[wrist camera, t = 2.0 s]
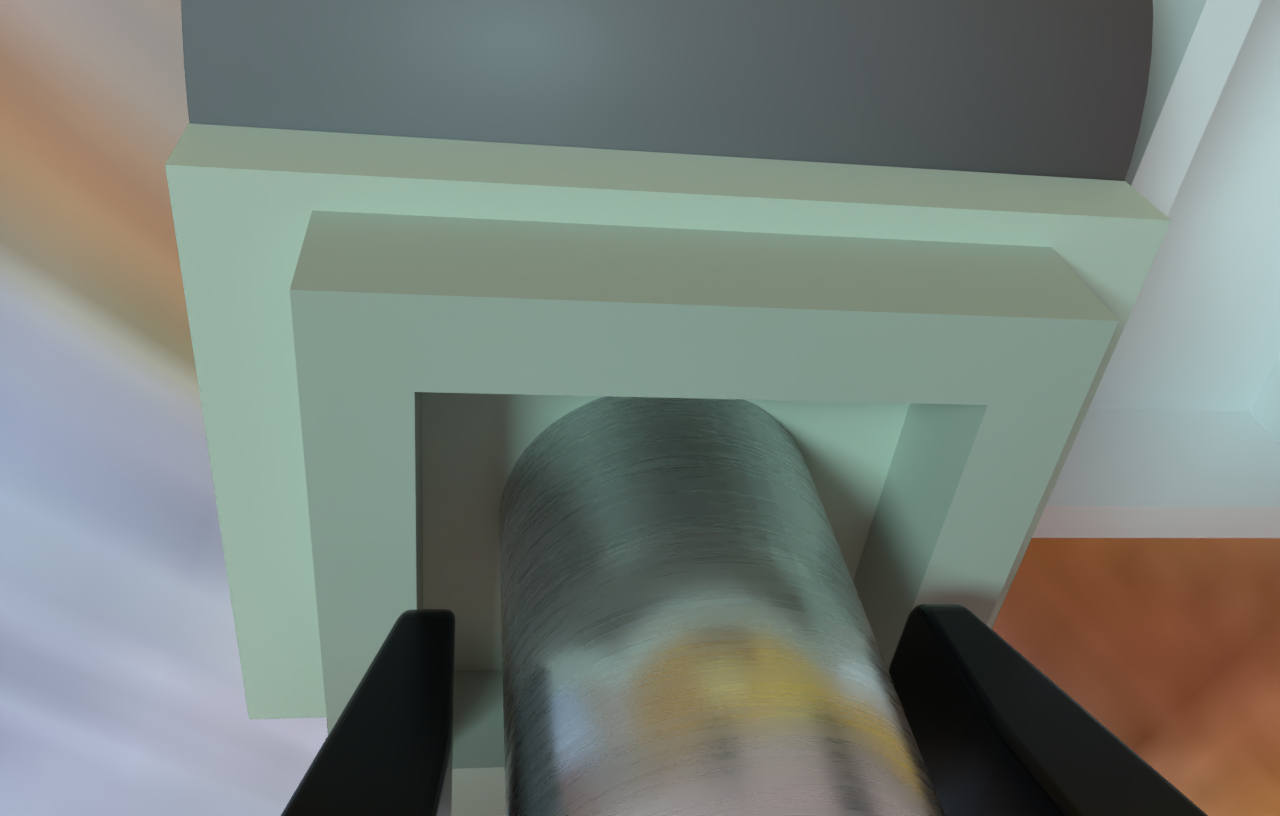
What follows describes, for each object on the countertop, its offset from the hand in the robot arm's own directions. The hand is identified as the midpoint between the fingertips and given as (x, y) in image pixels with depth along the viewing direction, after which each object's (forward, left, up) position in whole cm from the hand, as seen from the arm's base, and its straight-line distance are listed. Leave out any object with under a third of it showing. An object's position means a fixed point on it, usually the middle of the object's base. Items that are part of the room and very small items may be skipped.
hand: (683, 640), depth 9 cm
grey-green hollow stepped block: (0, -2, -7) cm, 8 cm away
